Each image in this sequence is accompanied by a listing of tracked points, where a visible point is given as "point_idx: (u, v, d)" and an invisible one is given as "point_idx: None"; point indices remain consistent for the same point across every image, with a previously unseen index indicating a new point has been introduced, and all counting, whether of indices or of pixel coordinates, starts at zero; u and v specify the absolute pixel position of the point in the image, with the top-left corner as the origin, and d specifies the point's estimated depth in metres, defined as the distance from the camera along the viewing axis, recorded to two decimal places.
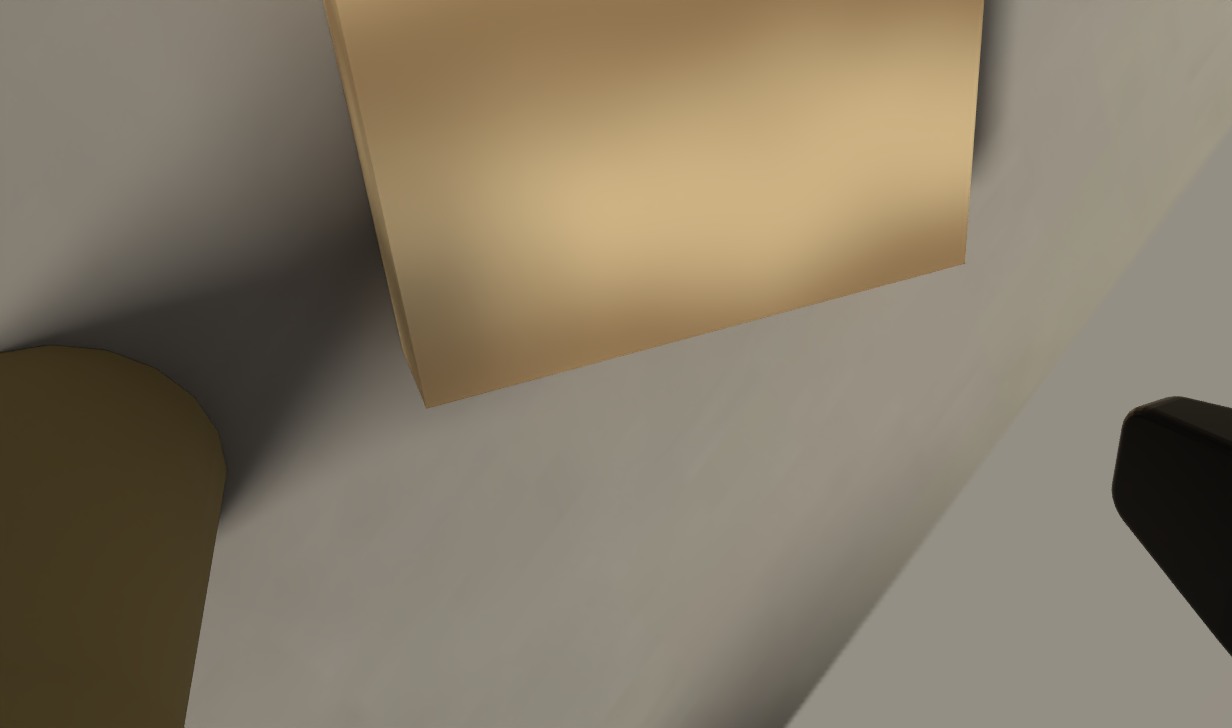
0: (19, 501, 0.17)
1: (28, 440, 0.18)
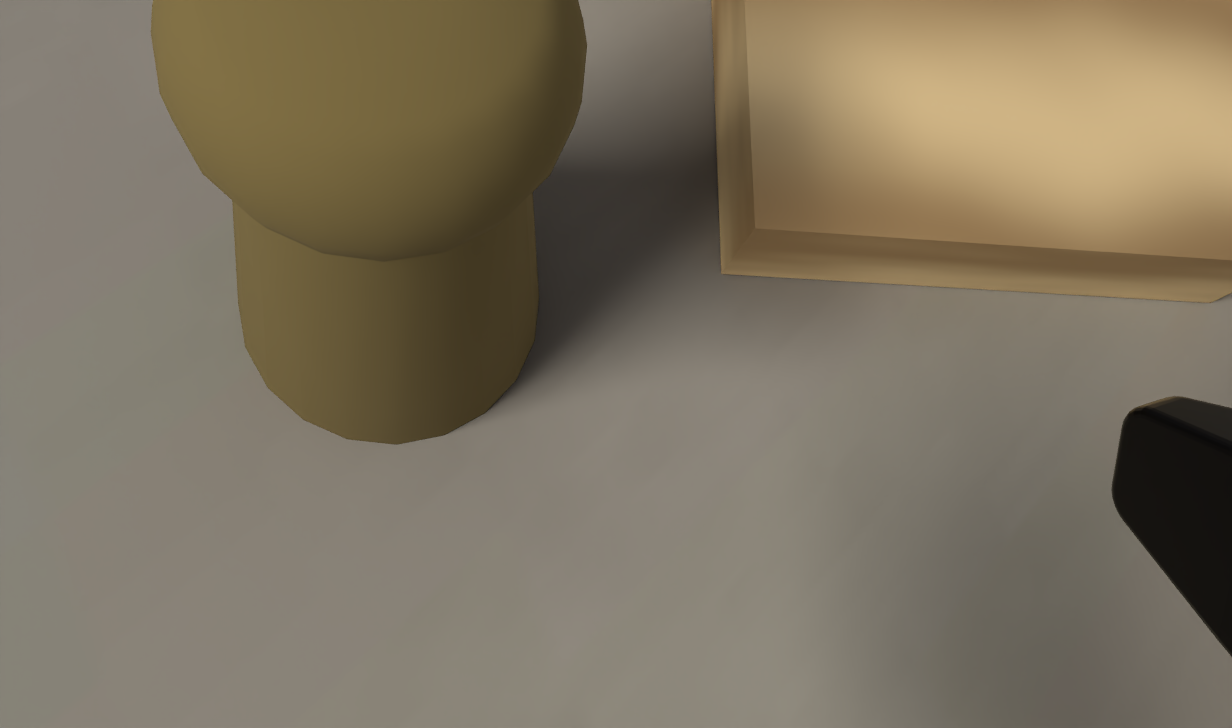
0: None
1: None
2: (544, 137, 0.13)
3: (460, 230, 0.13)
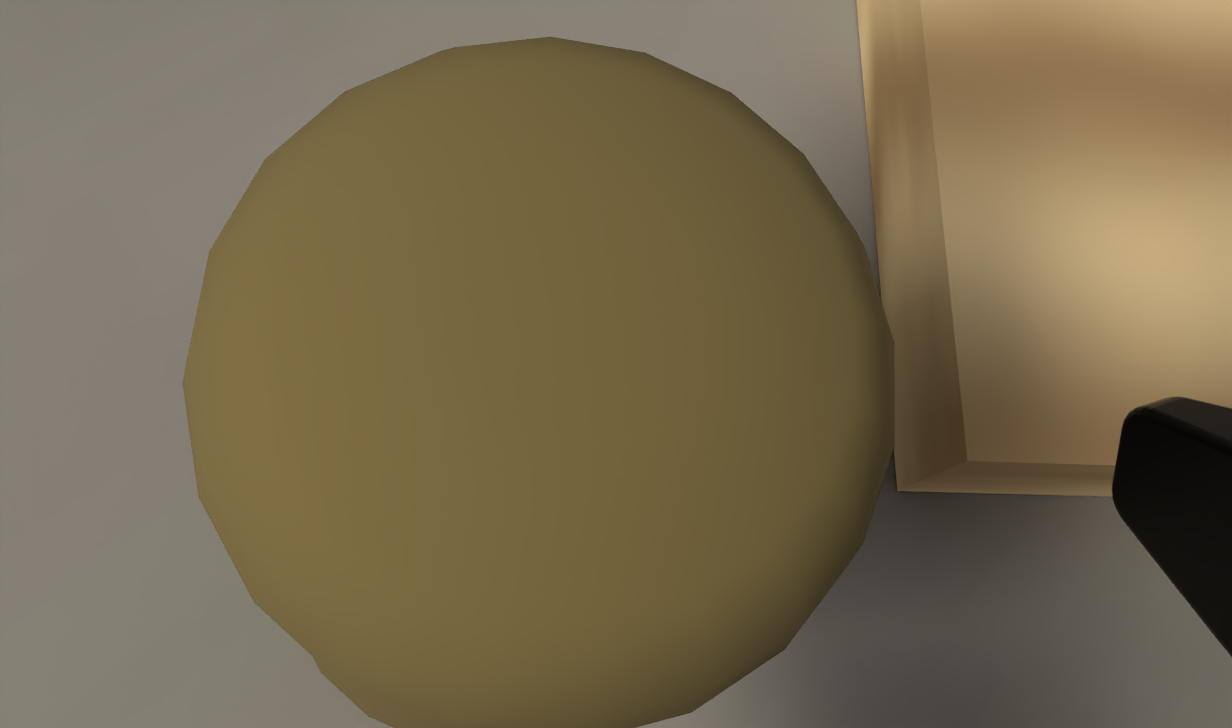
0: None
1: None
2: (850, 560, 0.07)
3: None
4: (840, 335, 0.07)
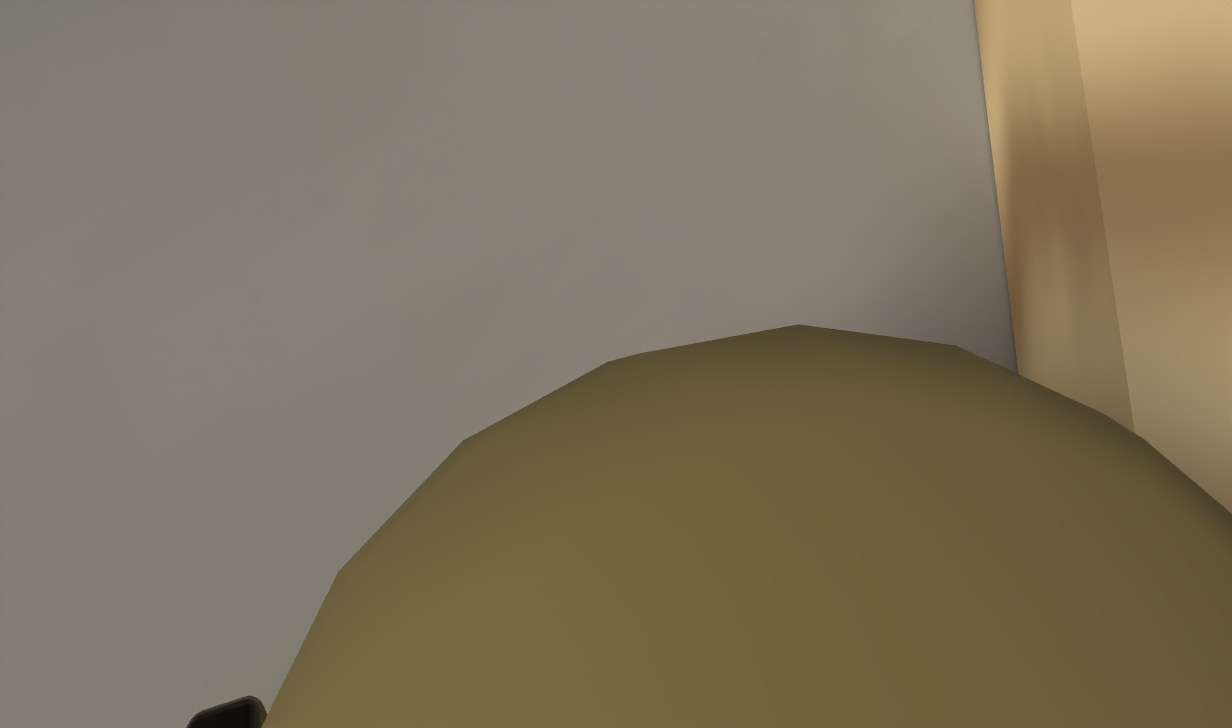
0: None
1: None
2: None
3: None
4: None
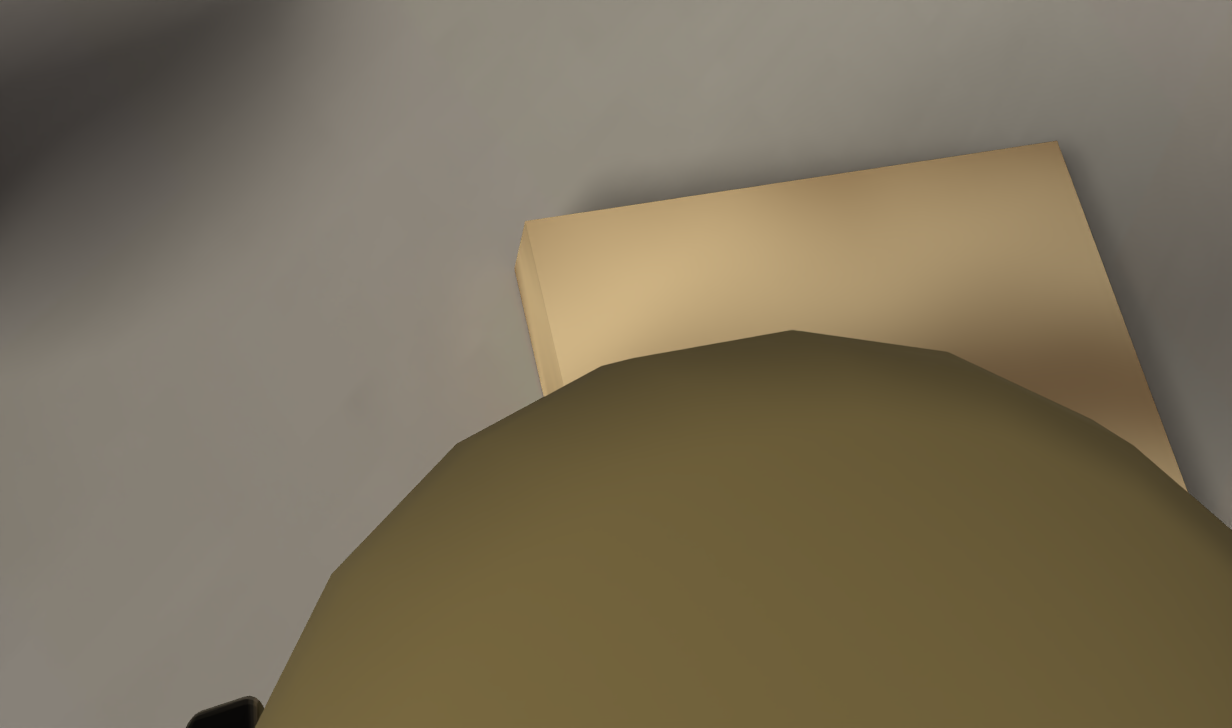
0: None
1: None
2: None
3: None
4: None
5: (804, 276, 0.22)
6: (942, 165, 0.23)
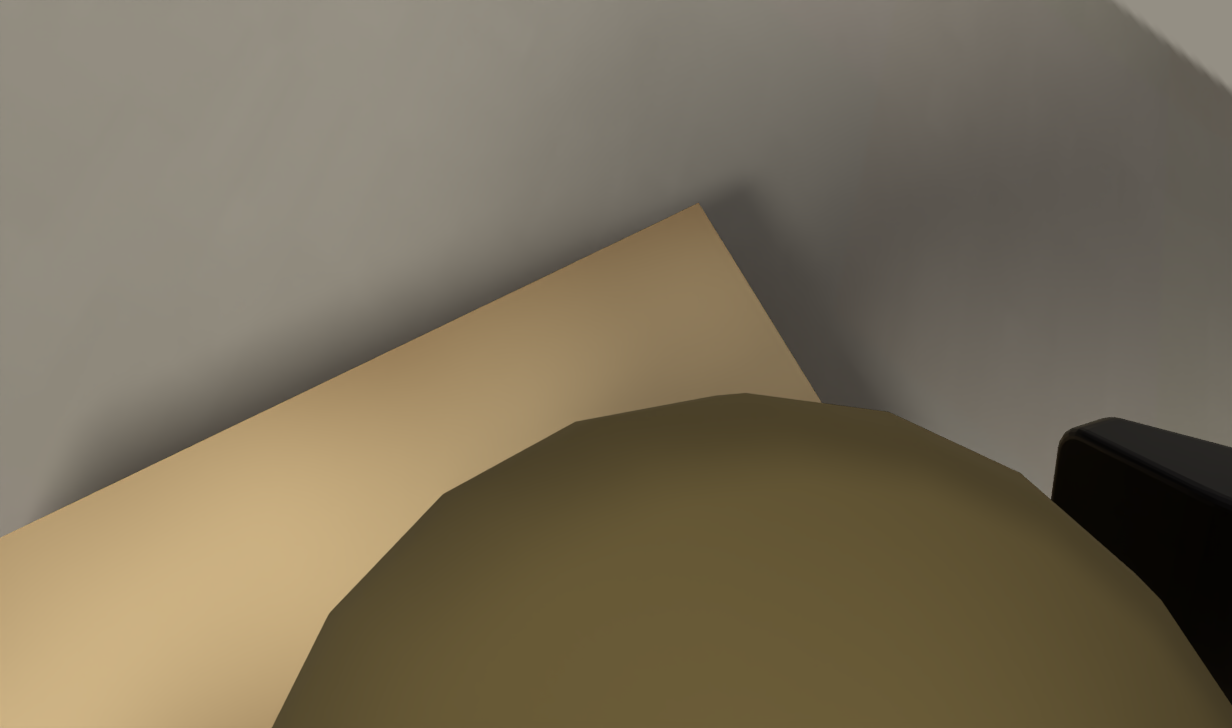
0: None
1: None
2: None
3: None
4: None
5: (372, 521, 0.15)
6: (544, 289, 0.16)
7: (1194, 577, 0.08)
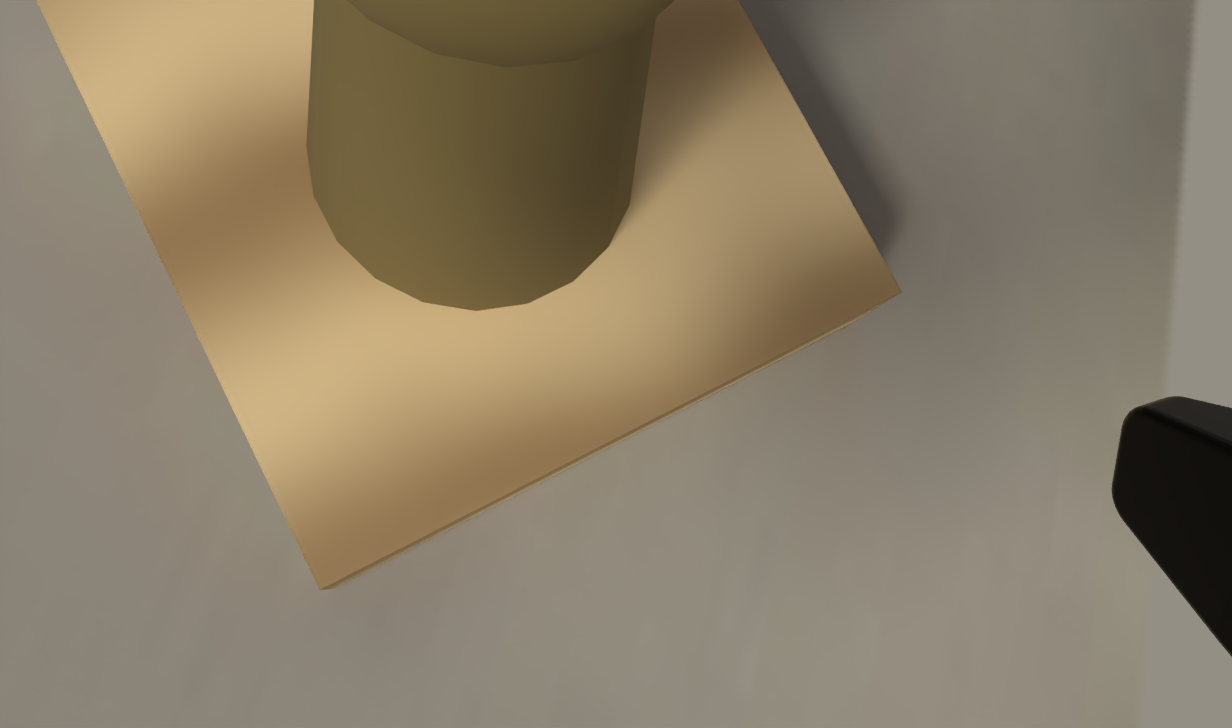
0: None
1: None
2: None
3: (604, 26, 0.11)
4: None
5: None
6: None
7: None
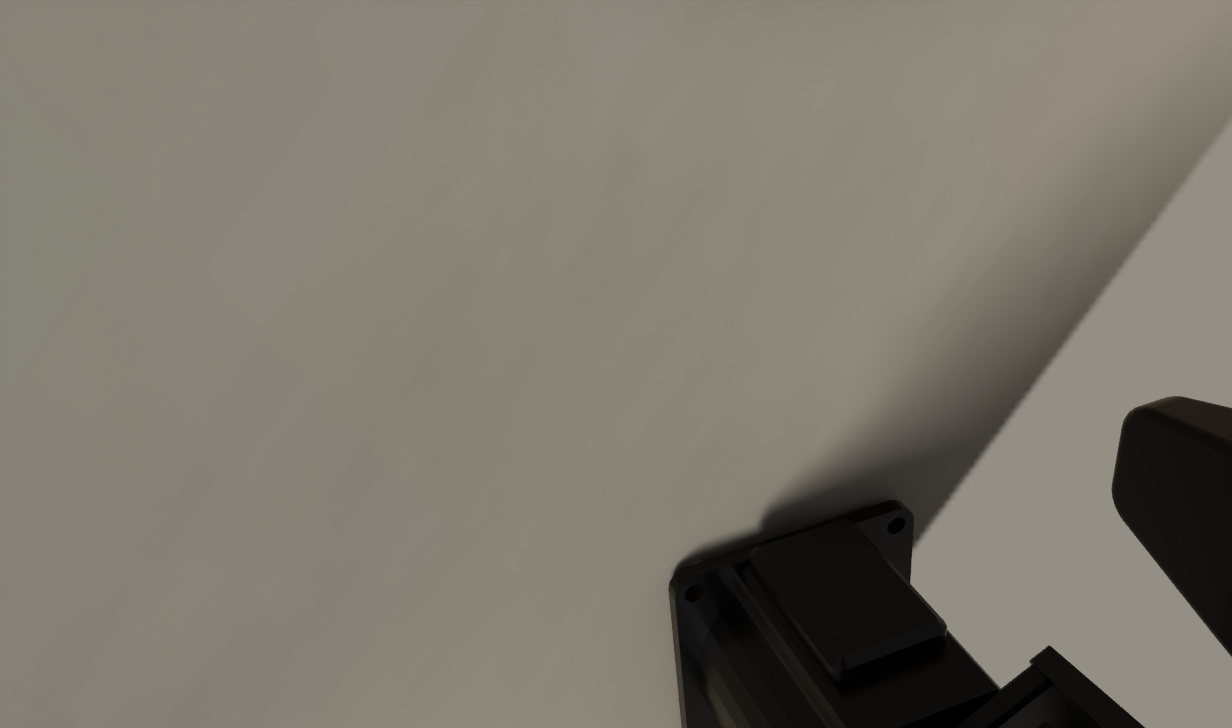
0: None
1: None
2: None
3: None
4: None
5: None
6: None
7: None
